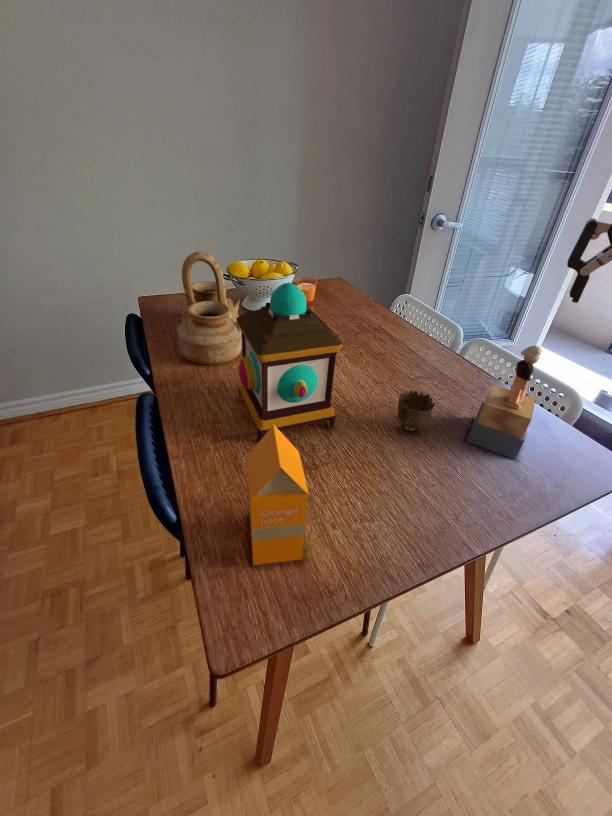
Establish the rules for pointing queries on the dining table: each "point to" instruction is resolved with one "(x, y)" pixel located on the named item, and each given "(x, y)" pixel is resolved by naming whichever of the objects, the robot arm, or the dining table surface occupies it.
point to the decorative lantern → (287, 363)
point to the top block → (506, 413)
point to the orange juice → (276, 500)
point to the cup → (414, 410)
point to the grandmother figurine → (522, 376)
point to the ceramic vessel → (208, 317)
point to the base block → (495, 439)
